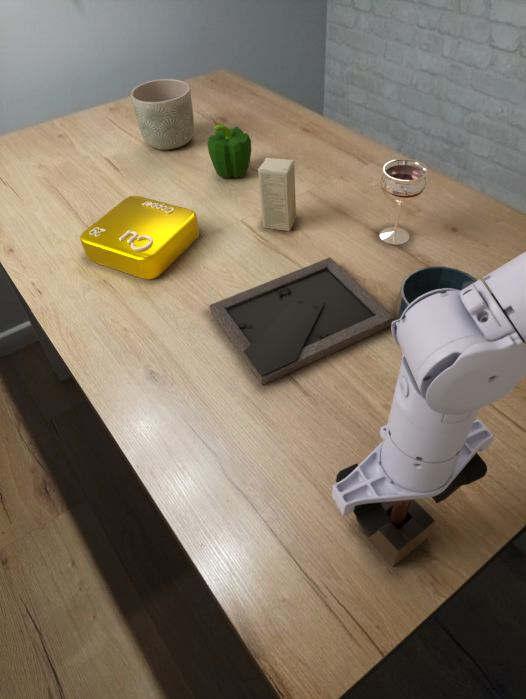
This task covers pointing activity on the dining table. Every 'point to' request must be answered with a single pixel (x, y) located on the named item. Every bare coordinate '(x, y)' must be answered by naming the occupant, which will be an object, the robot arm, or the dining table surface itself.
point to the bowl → (430, 284)
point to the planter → (164, 113)
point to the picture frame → (299, 319)
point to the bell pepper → (229, 151)
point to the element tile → (140, 236)
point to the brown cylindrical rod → (399, 512)
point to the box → (277, 193)
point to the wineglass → (401, 192)
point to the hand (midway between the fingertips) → (399, 509)
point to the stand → (402, 533)
